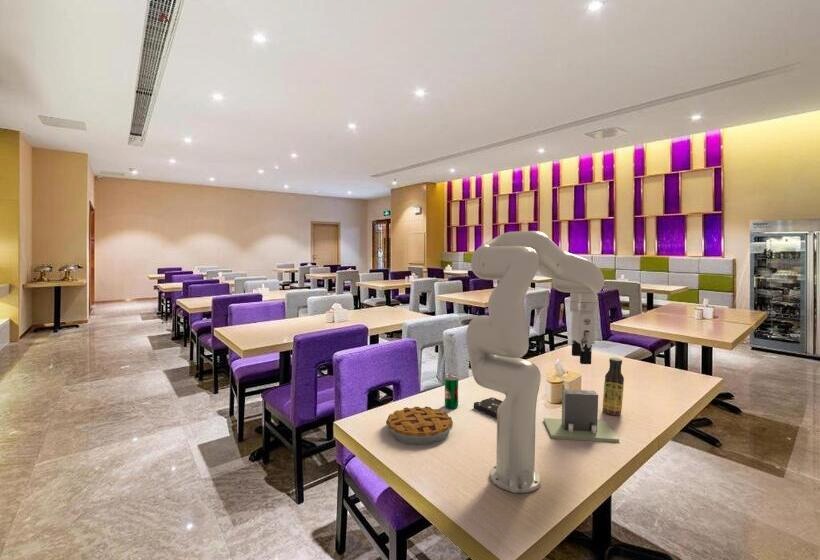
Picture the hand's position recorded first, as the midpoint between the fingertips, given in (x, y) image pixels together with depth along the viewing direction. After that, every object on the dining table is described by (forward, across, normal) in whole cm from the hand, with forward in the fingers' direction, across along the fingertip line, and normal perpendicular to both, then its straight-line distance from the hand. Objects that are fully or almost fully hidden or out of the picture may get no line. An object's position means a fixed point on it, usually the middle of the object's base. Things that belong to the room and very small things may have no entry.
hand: (580, 359), depth 129 cm
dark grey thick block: (+23, 0, 0) cm, 23 cm away
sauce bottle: (+24, +17, -16) cm, 34 cm away
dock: (+24, 0, 0) cm, 24 cm away
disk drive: (+24, +13, +25) cm, 37 cm away
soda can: (+24, +15, +42) cm, 51 cm away
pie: (+24, -6, +52) cm, 57 cm away
